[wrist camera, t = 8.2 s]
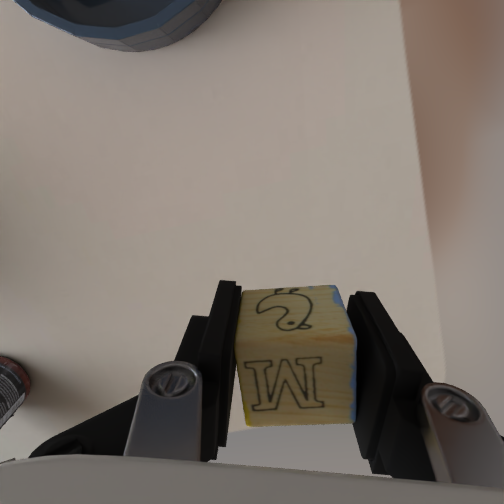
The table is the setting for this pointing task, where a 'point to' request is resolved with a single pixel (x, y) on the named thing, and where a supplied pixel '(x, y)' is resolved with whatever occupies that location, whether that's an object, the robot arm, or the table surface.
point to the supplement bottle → (11, 388)
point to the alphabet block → (296, 357)
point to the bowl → (123, 20)
